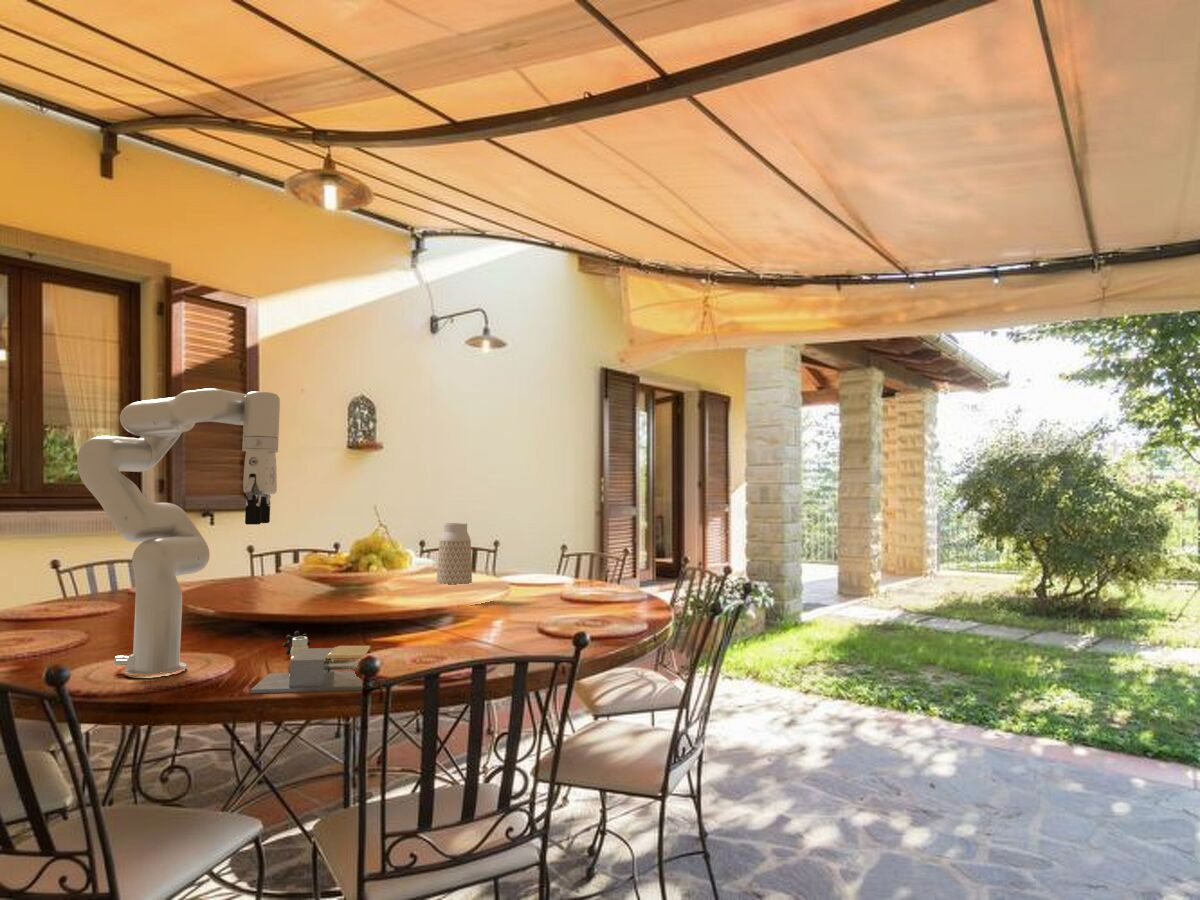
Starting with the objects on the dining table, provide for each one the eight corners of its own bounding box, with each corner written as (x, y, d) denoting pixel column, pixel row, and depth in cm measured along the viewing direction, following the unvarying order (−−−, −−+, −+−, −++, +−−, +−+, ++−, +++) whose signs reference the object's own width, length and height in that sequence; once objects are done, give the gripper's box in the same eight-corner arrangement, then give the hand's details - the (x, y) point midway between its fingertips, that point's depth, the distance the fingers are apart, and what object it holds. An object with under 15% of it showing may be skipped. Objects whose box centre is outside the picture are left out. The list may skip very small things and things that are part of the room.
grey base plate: (250, 693, 155) (251, 662, 155) (269, 676, 169) (270, 648, 169) (363, 689, 159) (363, 659, 159) (372, 674, 173) (373, 646, 173)
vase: (468, 604, 280) (470, 524, 281) (432, 604, 279) (434, 523, 281) (474, 599, 293) (475, 522, 295) (439, 599, 293) (441, 522, 295)
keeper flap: (325, 659, 160) (325, 655, 160) (334, 650, 170) (334, 645, 170) (362, 659, 161) (363, 655, 161) (369, 650, 171) (369, 645, 171)
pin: (288, 678, 161) (288, 658, 161) (293, 673, 165) (293, 653, 165) (355, 676, 163) (355, 656, 163) (358, 671, 168) (358, 652, 168)
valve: (314, 665, 181) (309, 655, 192) (315, 638, 181) (310, 630, 192) (285, 668, 178) (282, 657, 189) (286, 640, 178) (283, 631, 189)
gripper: (267, 443, 161) (263, 525, 160) (287, 448, 178) (284, 522, 177) (230, 442, 159) (227, 525, 158) (254, 447, 176) (251, 522, 175)
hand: (257, 522), depth 167 cm, fingers open, 6 cm apart
